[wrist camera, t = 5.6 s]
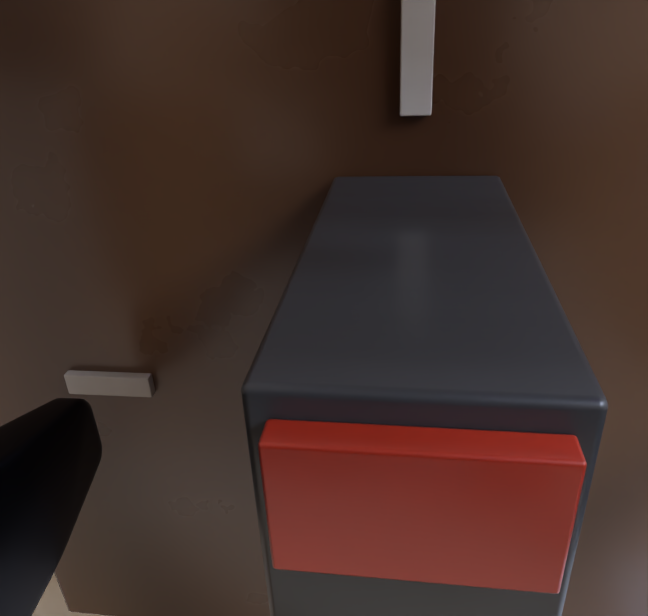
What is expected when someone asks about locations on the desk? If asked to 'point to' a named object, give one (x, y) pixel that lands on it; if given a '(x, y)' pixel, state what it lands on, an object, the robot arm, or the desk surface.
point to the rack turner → (420, 411)
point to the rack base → (292, 240)
